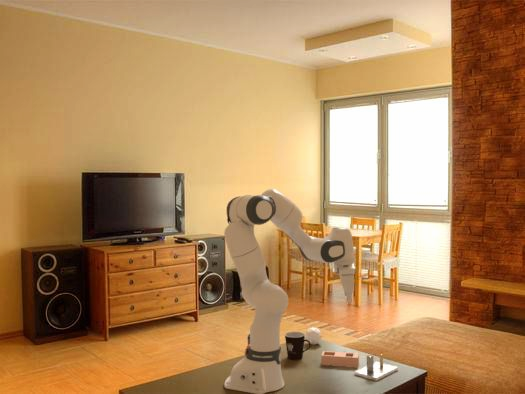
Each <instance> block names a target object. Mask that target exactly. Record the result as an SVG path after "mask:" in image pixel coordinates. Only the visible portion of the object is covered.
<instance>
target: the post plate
mask: <svg viewBox="0 0 525 394" xmlns="http://www.w3.org/2000/svg"><path fill="white" fill-rule="evenodd" d="M374 359H375V358H374V356H373V355H369V354H368V355H366V366H363V367H362V368H360V369H357V370H355V371H354V373H353V374H354V375H355V376H357V377H360V378H363V379H364V378H365V379H368V380H371V381H374V382H378V381H379V380H381V379H384V378H385V377H387V376H389V375H391V374H394V373H395V372H397V371H398V370H399V367H398V366H396V365H392V364H387V363H384V354H383V353H380V354H379V361H375V362H374Z"/></svg>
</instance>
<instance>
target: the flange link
mask: <svg viewBox="0 0 525 394" xmlns="http://www.w3.org/2000/svg"><path fill="white" fill-rule="evenodd" d="M320 361H321V363H320V364H321V366H329V365H332V367H333V366H334V367H343V366H346V368H357V367H358V368H359V364H360V353H359V352H347V351H346V352H344V351H330V350H329V351H327V350H323V351H322V353H321V357H320Z"/></svg>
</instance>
